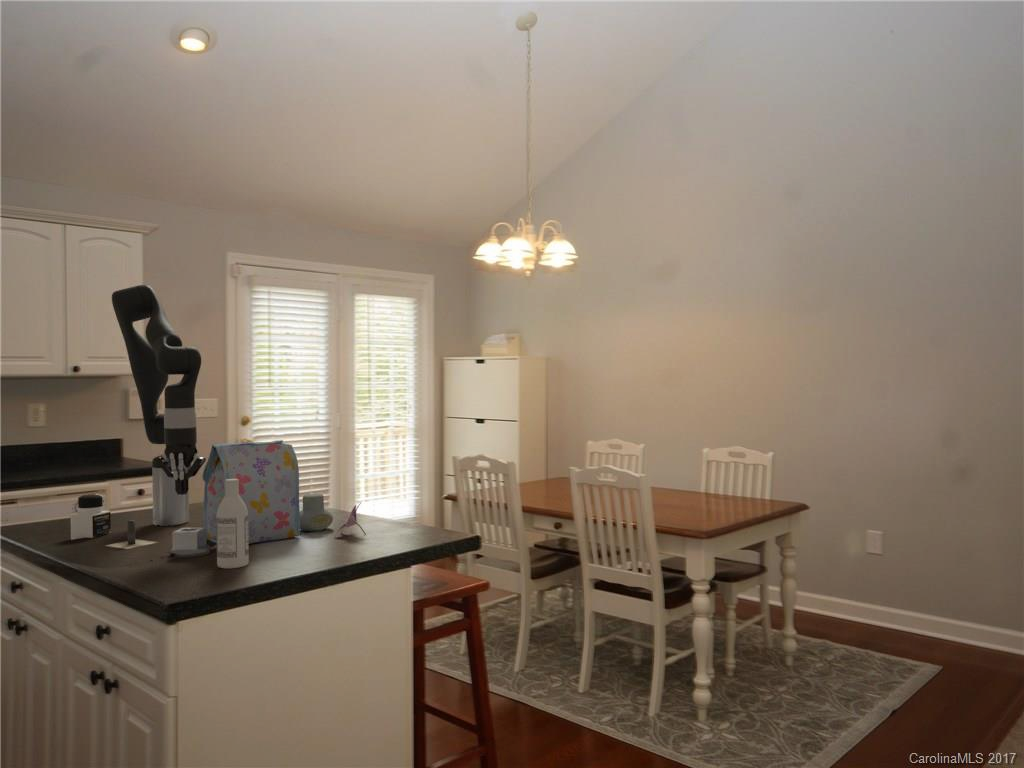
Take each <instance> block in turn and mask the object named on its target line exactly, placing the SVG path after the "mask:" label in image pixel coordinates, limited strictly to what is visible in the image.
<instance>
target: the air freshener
mask: <svg viewBox="0 0 1024 768" xmlns="http://www.w3.org/2000/svg"><path fill="white" fill-rule="evenodd" d="M324 497H325V496H324V494H322V493H309V494H308V493H307V494H304V495H303V496H302V510H300V531H304V532H309V533H310V532H311V533H315V532H316V533H317V532H322V531H324V530H325V529H328V528H329V527H330V526H331V525H332V523H333V521H334V516H333V514H332V513H331V512H330V511H329V510H328V509H325V501H324V499H325V498H324Z"/></svg>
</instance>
